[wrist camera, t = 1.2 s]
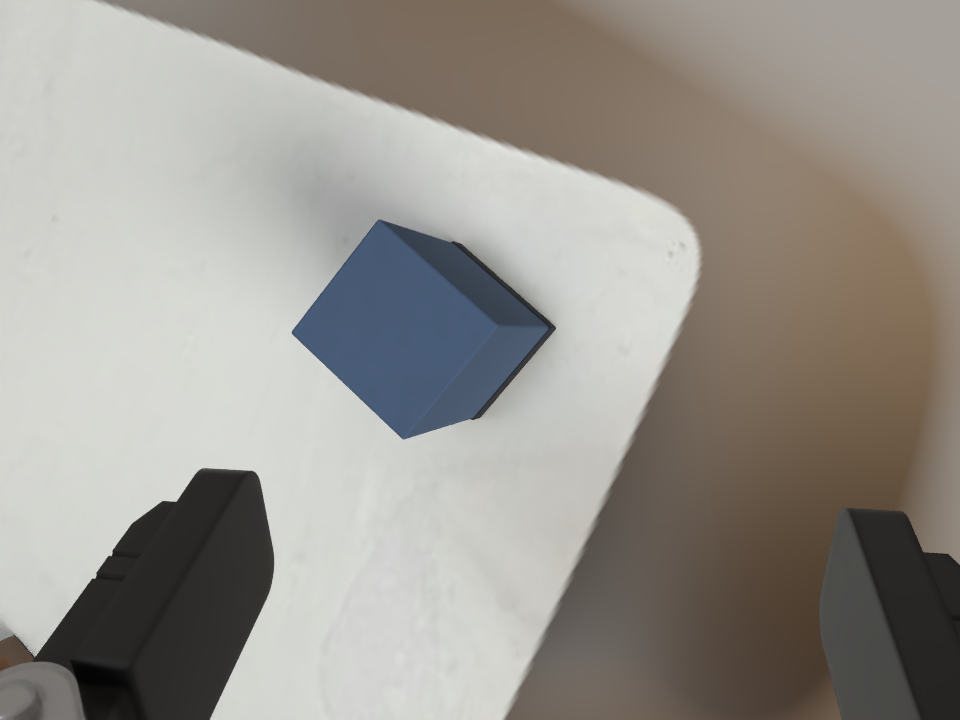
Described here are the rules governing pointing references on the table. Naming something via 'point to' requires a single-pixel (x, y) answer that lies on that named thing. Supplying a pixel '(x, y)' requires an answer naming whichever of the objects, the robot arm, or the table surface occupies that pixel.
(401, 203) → the table surface
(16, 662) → the stand
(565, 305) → the table surface
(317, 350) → the blue rectangular block
